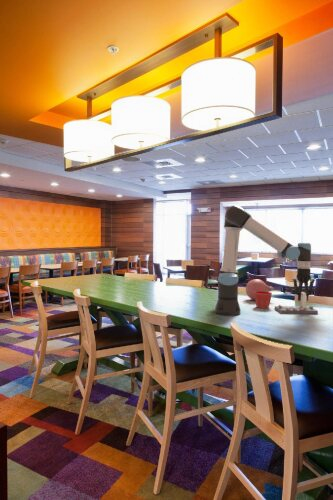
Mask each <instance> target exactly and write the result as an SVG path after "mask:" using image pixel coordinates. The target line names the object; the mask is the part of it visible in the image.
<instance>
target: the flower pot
mask: <svg viewBox="0 0 333 500" xmlns="http://www.w3.org/2000/svg"><path fill="white" fill-rule="evenodd" d="M254 293H255V300H254V301H255V305H256V307H257V308H259V309H268V308H270V304H271V300H272V295H273V293H272V291H269V292H265V291H256V292H254Z"/></svg>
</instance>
